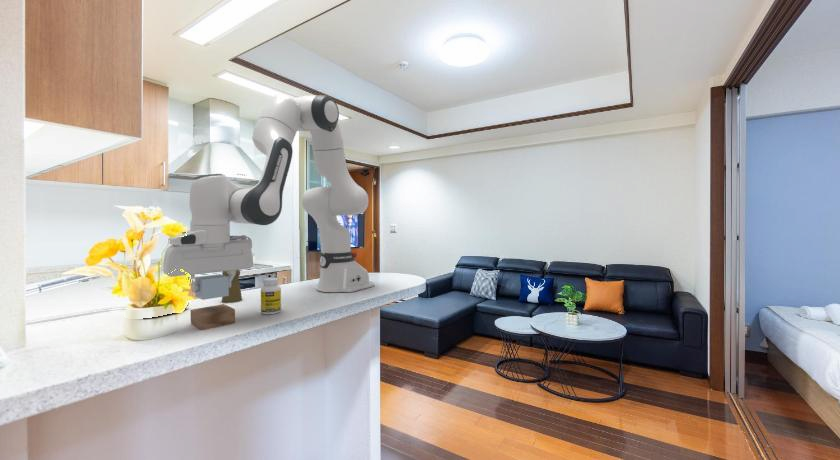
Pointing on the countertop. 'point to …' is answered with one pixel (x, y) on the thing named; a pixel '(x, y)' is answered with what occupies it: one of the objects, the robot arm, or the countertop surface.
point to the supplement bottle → (270, 296)
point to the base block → (212, 316)
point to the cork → (233, 289)
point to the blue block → (212, 286)
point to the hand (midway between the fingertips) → (211, 289)
